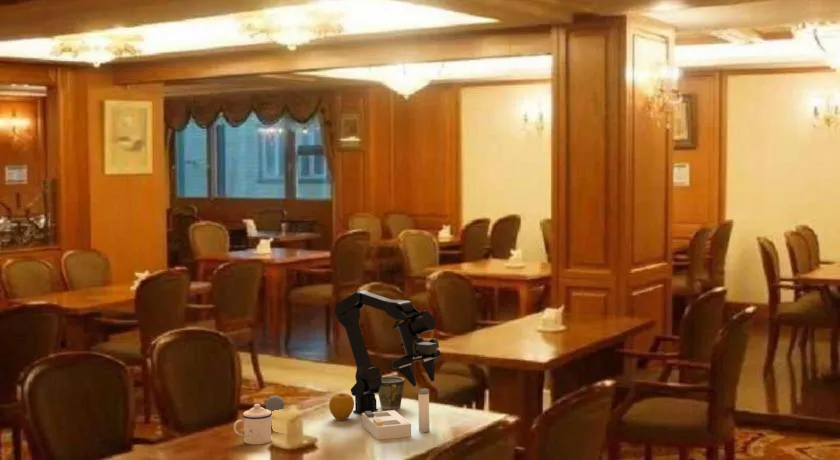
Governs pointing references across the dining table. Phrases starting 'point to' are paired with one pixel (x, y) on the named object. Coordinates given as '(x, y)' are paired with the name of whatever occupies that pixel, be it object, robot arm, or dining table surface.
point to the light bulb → (274, 403)
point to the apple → (341, 406)
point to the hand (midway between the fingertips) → (424, 383)
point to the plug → (423, 409)
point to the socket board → (386, 424)
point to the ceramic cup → (391, 392)
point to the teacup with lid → (256, 425)
